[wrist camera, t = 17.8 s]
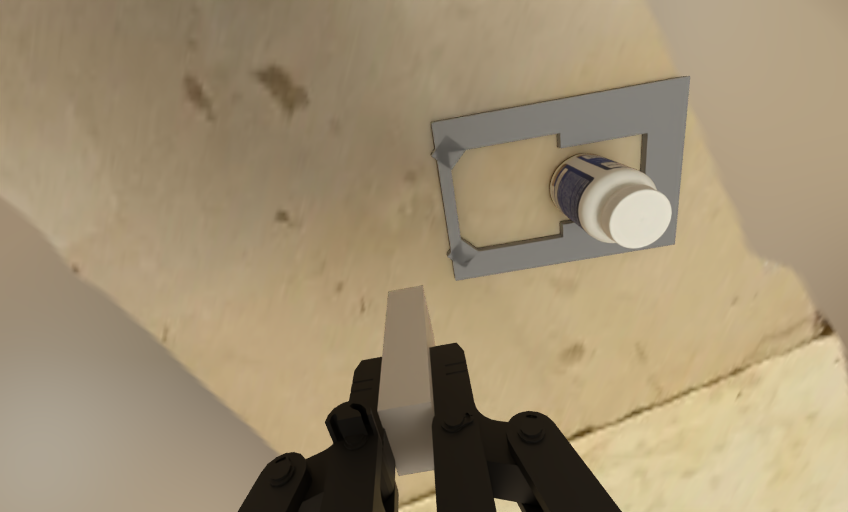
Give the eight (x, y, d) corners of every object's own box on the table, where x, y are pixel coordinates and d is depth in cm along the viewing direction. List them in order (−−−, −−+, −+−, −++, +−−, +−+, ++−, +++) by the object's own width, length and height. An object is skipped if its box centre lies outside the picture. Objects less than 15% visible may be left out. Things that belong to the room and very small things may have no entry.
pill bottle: (565, 225, 35) (619, 273, 26) (537, 177, 33) (584, 212, 24) (621, 190, 34) (696, 228, 25) (594, 138, 32) (665, 160, 23)
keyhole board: (425, 123, 31) (426, 123, 31) (683, 76, 31) (690, 76, 30) (450, 277, 37) (451, 281, 36) (669, 241, 36) (674, 244, 35)
